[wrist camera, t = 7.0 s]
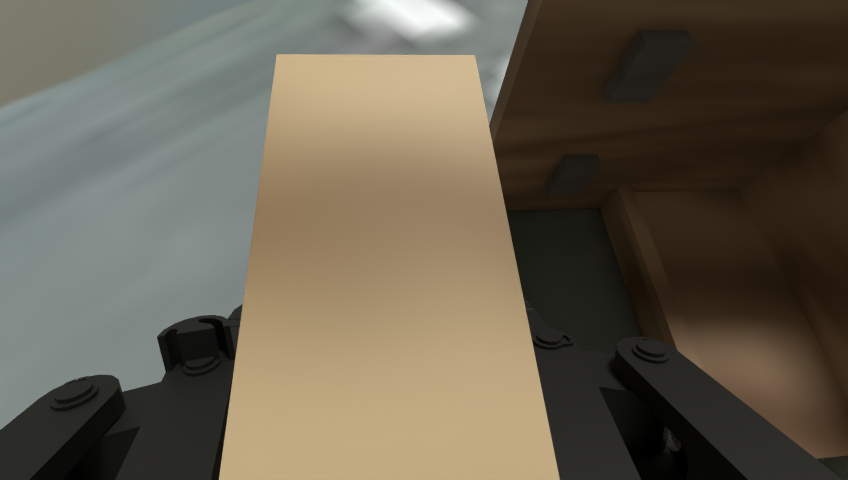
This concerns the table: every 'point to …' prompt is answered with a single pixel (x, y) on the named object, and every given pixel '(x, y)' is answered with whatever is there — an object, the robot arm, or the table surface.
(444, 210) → the tan block
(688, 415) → the robot arm
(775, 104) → the cabinet
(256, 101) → the table surface
